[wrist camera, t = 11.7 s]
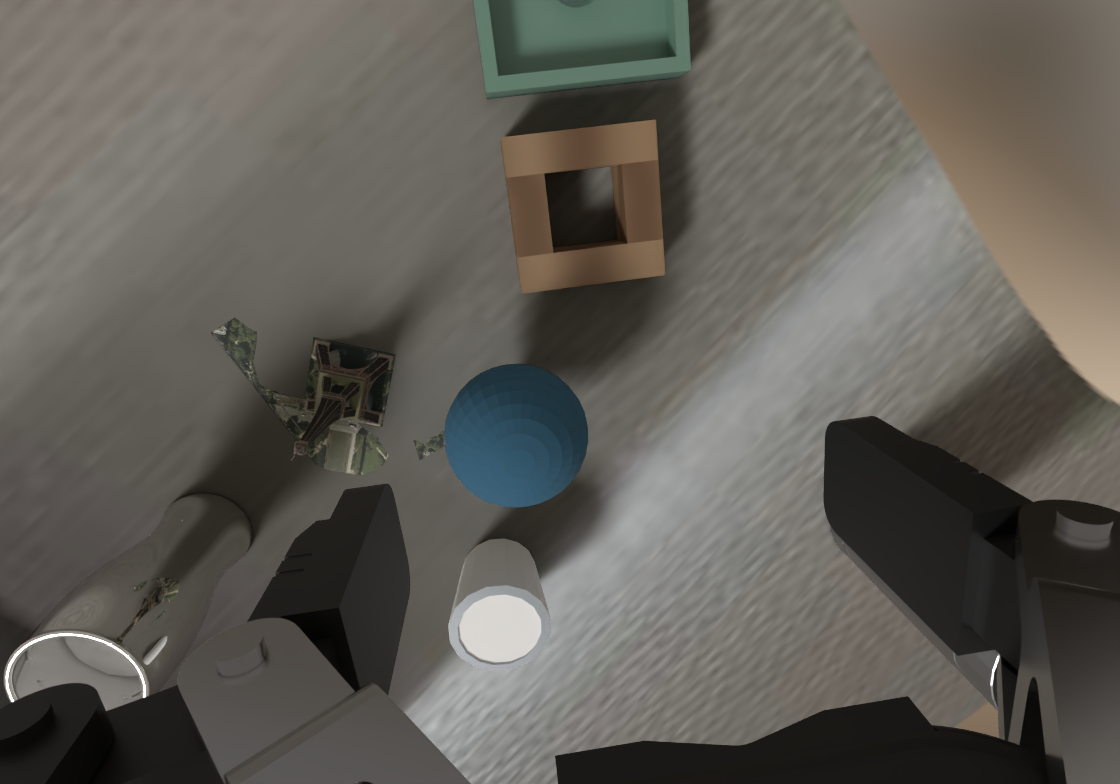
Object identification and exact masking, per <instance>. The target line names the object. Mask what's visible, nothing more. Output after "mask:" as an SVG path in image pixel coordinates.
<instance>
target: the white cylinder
mask: <svg viewBox="0 0 1120 784" xmlns="http://www.w3.org/2000/svg"><path fill="white" fill-rule="evenodd" d="M448 628H449V637H450V643H451V645H452V646H453V648H454V649H455V651H456V652H457V654H458V656H459V657H460V658H462V659H463V660H465V661H466V662H468V663H469V664H471V665H472V666H474V667H477V668H481V669H486V670H490V671H501V670H511V669H515V668H517V667H519V666H521V665H524V664H526V663H528V662H530V661H532V660H533V659H534V658H535V657H536V656H537V655H538V654H539V653H540V652H541V651H542V650H543V649H544V647H545V645H546V642H547V640H548V638H549V635H550V633H551V631H550V615H549V611H548V608H547V604H546V601H545V597H544V593H543V590H542V586H541V583H540V579H539V575H538V572H537V568H536V565H535V561H534V559H533V558H532V556H531V554H530V552H529V550H528V549H526V548H525V547H524V546H522V545H521V544H520V543H518V542H515V541H512V540H508V539H504V538H503V539H491V540H488V541H485V542H483V543H481V544H479V545H477V546H476V547H475V548H474V549H473V550H472V551H471V552H470V553H469V554H468V555H467V557H466V559H465V562H464V565H463V568H462V572H461V576H460V580H459V584H458V588H457V592H456V596H455V600H454V604H453V608H452V612H451V617H450V621H449V625H448Z"/></svg>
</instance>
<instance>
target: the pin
mask: <svg viewBox="0 0 1120 784" xmlns="http://www.w3.org/2000/svg"><path fill="white" fill-rule="evenodd" d="M558 1H559V2H560V3H562V4H563V5H566V6H568V7H573V8H579V7H583V6H586V5H588V4H590V3H591V2H592V1H594V0H558Z"/></svg>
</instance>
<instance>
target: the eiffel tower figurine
mask: <svg viewBox="0 0 1120 784" xmlns="http://www.w3.org/2000/svg"><path fill="white" fill-rule="evenodd" d="M212 335H213V336H214V337H215V339H216V340H217V341H218V342H219V344H220V345H221V346H222V347H223V349H224V350H225V351H226V352H227V354H228V355H229V356H230V357H231V359H232V360H233V361H234V362H235V364H236V365H237V366H238V367H239V369H240V370H241V371H242V372H243V374H244V375H245V376H246V377H247V379H248V380H249V381H250V382H251V384H252V385H253V386H254V387H255V389H256V390H257V391H258V393H259V394H260V395H261V396H262V398H263V399H264V400H265V401H266V403H267V404H268V405H269V406H270V408H271V409H272V410H273V411H274V413H275V414H276V415H277V416H278V418H279V419H280V420H281V422H282V423H283V424H284V425H285V427H286V428H287V429H288V430H289V432H290V433H291V434H292V435H293V437H294V438H295V439H296V440H297V441H296V442H295V445H294V452H293V454H295V455H294V456H293V458H292V459H291V461H292V460H293V459H294V457H295V456H296V455H304V454H306V453H307V454H308V455H309V457H310V458H311V459H312V460H313V462H314V463H315V464H317V465H319V466H321V467H323V468H324V469H327V470H332V471H338V472H346V473H350V474H354V475H362V474H369V473H372V472H373V471H374V470H375V469H377V468H378V467H379V466H381V465H383V464H384V462H385V461H386V459H387V457H388V456H389V455H388V454H387V452H386V451H385V449H384V448H383V447H382V445H381V444H380V442H379V440H378V438H376V437H375V436H373V435H372V434H370V433H369V432H367V431H366V430H365V429H364V428H363V427H362V426H360V425H359V423H363V424H368V425H374V426H379V427H382V425H383V419H384V414H385V409H386V403H387V398H388V393H389V387H390V382H391V377H392V371H393V366H394V360H395V354H390V353H386V352H381V351H376V350H371V349H367V348H362V347H357V346H353V345H348V344H343V343H338V342H334V341H329V340H324V339H320V338H315V337H314V339H313V346H312V353H311V360H310V367H309V374H308V381H307V389H306V396H305V398H296V397H292V396H288V395H284V394H280V393H277V392H275V391H272V390H269V389H266V388H265V387H263V386H261V385H260V384H259V381H258V378H257V374H256V371H255V368H254V364H253V359H254V354H255V348H256V338H257V332H255V331H253V330H251V329H249V328H248V327H247V326H245V325H244V324H243V323H241V322H240V321H239V320H237V319H236V318H233V319H232V320H230V321H229V322H227V323H226V324H224V325H223V326H221V327H220V328H218V329H216V330H215V331H213V332H212ZM444 431H445V430H444ZM444 431H442V432H441V433H440V434H439V435H438V437H432V438H429V439H428V442H427V444H426V445H425V444H422V443H420V442H418V441H416V440H414V443H415V446H416V449H417V453H418V456H419V460H421V459H423V458H424V457H426V456H428V455H429V454H431V453H433V452H434V451H436V450H438V449H439V448H441V447H443V446H444V445H445V436H444Z"/></svg>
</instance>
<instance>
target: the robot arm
mask: <svg viewBox="0 0 1120 784" xmlns="http://www.w3.org/2000/svg"><path fill="white" fill-rule="evenodd" d="M824 508H825V512H826V516H827V519H828V521H829V524H830V525H831V532H832V535H833V538H834V540H835V542H836V543H837V545H838V546H839V548H840V549H841V550H842V551H843V552H844V553H845V554H846V555H847V556H848V557H849V558H850V559H851V560H852V561H853V562H854V563H855V564H856V565H857V566H858V567H859V569H860V570H861V571H862V572H863V573H864V574H865V575H866V576H867V577H868V578H869V579H870V580H871V581H872V582H873V583H874V584H875V585H876V586H877V587H878V588H879V589H880V590H881V591H882V593H883V594H884V595H885V596H886V597H887V598H888V599H889V600H890V601H891V602H892V603H893V604H894V605H895V606H896V607H897V608H898V609H899V610H900V611H901V612H902V613H903V614H904V615H905V616H906V617H907V618H908V619H909V620H910V621H911V622H912V623H913V625H914V626H915V627H916V628H917V629H918V630H919V631H920V632H921V633H922V634H923V635H924V636H925V637H926V638H927V639H928V640H929V641H930V642H931V643H932V644H933V645H934V646H935V647H936V648H937V649H938V650H939V651H940V652H941V653H942V654H943V655H944V656H945V658H946V659H947V660H948V661H949V662H950V663H951V664H952V665H953V666H954V667H955V668H956V669H957V670H958V671H959V672H960V673H961V674H962V675H963V676H964V677H965V678H966V679H967V680H968V681H969V682H970V683H971V684H972V685H973V686H974V687H975V688H976V689H977V690H978V691H979V692H980V693H981V694H982V695H983V697H984V698H985V699H986V700H987V701H988V702H989V703H990V704H991V705H992V706H993V707H994V708H995V709H996V710H997V711H998V725H999V738H997V737H993V736H990V735H986V734H982V733H978V732H974V731H969V730H964V729H958V728H952V727H945V726H935V725H931V724H930V723H929V722H928V720H927V719H926V718H925V717H924V716H923V714H922V713H921V712H920V711H919V709H918V708H917V707H916V706H915V704H914V703H913V702H912V701H911V700H910V698H909V697H908V696H907V697H901V698H895V699H889V700H883V701H877V702H871V703H865V704H859V705H853V706H847V707H842V708H836V709H830V710H824V711H821V712H819V713H817V714H815V715H812V716H810V717H808V718H806V719H803V720H801V721H799V722H797V723H795V724H792V725H790V726H788V727H786V728H783V729H781V730H779V731H777V732H774V733H772V734H770V735H768V736H766V737H763V738H761V739H759V740H757V741H754V742H752V743H749V744H746V745H740V746H730V745H712V744H693V743H675V742H656V741H640V742H634V743H628V744H622V745H616V746H611V747H605V748H599V749H593V750H587V751H581V752H575V753H569V754H563V755H557V756H555V758H556V767H557V777H558V784H1120V512H1119V511H1116V510H1113V509H1110V508H1107V507H1103V506H1100V505H1095V504H1091V503H1086V502H1080V501H1072V500H1057V499H1054V500H1041V501H1035V502H1032V501H1031V500H1029V499H1027V498H1025V497H1024V496H1022V495H1020V494H1018V493H1017V492H1015V491H1013V490H1012V489H1010V488H1008V487H1006V486H1005V485H1003V484H1001V483H999V482H998V481H996V480H994V479H993V478H991V477H989V476H987V475H986V474H984V473H980V474H979V472H978V470H977V469H975V468H974V467H972V466H970V465H968V464H967V463H965V462H960V459H958V458H956V457H955V456H953V455H951V454H949V453H948V452H946V451H944V450H942V449H941V448H939V447H937V446H934V445H931V444H928V443H924V442H921V441H918V440H915V439H913V438H911V437H909V436H908V435H906V434H904V433H903V432H901V431H899V430H898V429H896V428H894V427H893V426H891V425H889V424H888V423H886V422H884V421H882V420H881V419H879V418H877V417H875V416H869V417H862V418H855V419H848V420H840V421H834V422H831V423H830V424H829V425H828V427H827V430H826V434H825V462H824ZM409 594H410V573H409V564H408V558H407V554H406V549H405V544H404V540H403V535H402V530H401V526H400V521H399V516H398V512H397V507H396V503H395V498H394V494H393V491H392V488H391V486H390V485H389V484H381V485H374V486H367V487H360V488H353V489H346V490H345V491H344V492H343V494H342V496H341V498H340V500H339V502H338V504H337V506H336V508H335V510H334V512H333V514H332V516H331V518H330V519H328V520H321V521H316V522H315V523H314V524H312V525H311V526H310V527H309V528H308V529H306V530H305V531H304V532H303V533H302V534H300V535H299V536H298V537H297V538H295V540H294V542H293V543H292V545H291V547H290V549H289V550H288V552H287V554H286V556H285V561H282V563H281V564H280V566H279V568H278V569H277V571H276V577H273V578H272V580H271V582H270V583H269V585H268V587H267V589H266V590H265V592H264V594H263V595H262V597H261V599H260V601H259V602H258V604H257V606H256V608H255V609H254V611H253V613H252V615H251V616H250V618H249V620H248V621H247V622H245V623H242V624H240V625H237V626H234V627H232V628H230V629H227V630H225V631H223V632H221V633H220V634H218V635H216V636H214V637H213V638H211V639H210V640H208V641H207V642H205V643H204V644H203V645H201V646H200V647H199V648H198V649H197V650H195V651H194V652H193V653H192V654H191V655H190V656H189V658H188V659H187V660H186V661H185V662H184V664H183V666H182V667H181V669H180V671H179V674H178V679H177V684H178V685H176V686H174V687H171V688H169V689H166V690H164V691H161V692H158V693H155V694H153V695H150V696H147V697H144V698H141V699H139V700H136V701H133V702H130V703H128V704H125V705H122V706H119V707H116V708H114V709H111V710H108V711H106V710H105V708H104V705H103V703H102V701H101V698H100V696H99V694H98V691H97V690H96V689H95V688H94V687H93V686H91V685H88V684H84V683H68V684H61V685H57V686H52V687H49V688H46V689H43V690H39V691H37V692H34V693H32V694H29V695H27V696H24V697H22V698H20V699H18V700H16V701H14V702H12V703H10V704H8V705H6V706H5V707H3V708H1V709H0V784H471V783H470V782H469V781H468V780H467V779H466V778H465V777H464V776H463V775H462V774H461V773H460V772H459V771H458V770H457V769H456V767H455V766H454V765H453V764H452V763H451V762H450V761H449V760H448V759H447V758H446V757H445V756H444V755H443V754H442V753H441V752H440V750H439V749H438V748H437V747H436V746H435V745H434V744H433V743H432V742H431V741H430V740H429V739H428V738H427V737H426V736H425V735H424V733H423V732H422V731H421V730H420V729H419V728H418V727H417V726H416V725H415V724H414V723H413V722H412V721H411V720H410V719H409V718H408V716H407V715H406V714H405V713H404V712H403V711H402V710H401V709H400V708H399V707H398V706H397V705H396V704H395V703H394V702H393V701H392V700H391V698H390V697H389V696H388V693H389V688H390V684H391V679H392V674H393V670H394V665H395V660H396V656H397V651H398V646H399V641H400V637H401V632H402V627H403V623H404V618H405V613H406V609H407V604H408V599H409Z"/></svg>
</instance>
